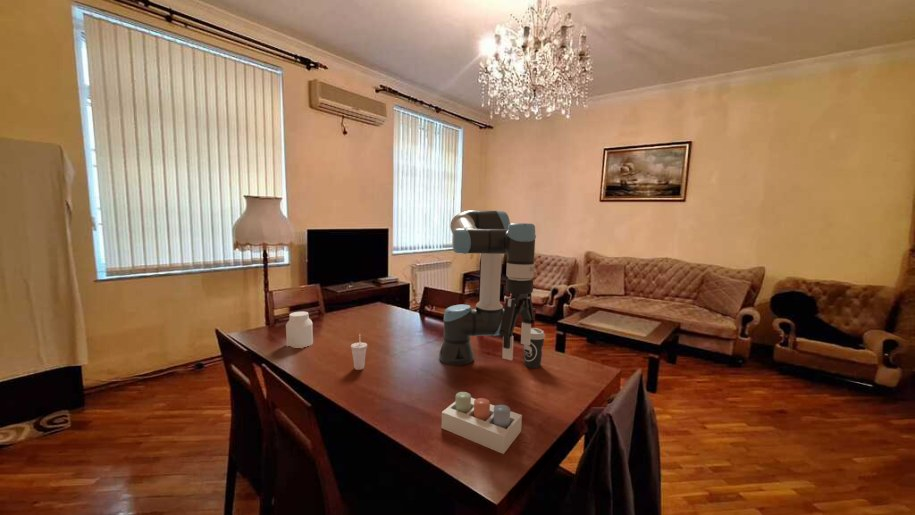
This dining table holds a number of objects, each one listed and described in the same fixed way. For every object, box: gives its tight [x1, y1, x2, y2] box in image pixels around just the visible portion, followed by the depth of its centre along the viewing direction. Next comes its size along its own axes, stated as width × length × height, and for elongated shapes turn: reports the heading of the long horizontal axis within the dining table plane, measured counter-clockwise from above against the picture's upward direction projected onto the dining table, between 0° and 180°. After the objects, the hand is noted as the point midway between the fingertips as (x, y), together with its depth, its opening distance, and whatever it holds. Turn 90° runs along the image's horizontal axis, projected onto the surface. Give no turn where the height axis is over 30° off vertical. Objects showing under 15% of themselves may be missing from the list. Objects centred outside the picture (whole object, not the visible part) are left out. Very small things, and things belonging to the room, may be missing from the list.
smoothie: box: [350, 333, 368, 371], centre depth 140 cm, size 6×6×14 cm
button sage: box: [455, 391, 472, 414], centre depth 104 cm, size 5×5×6 cm
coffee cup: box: [523, 327, 546, 369], centre depth 146 cm, size 10×10×15 cm
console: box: [441, 397, 523, 455], centre depth 101 cm, size 20×12×5 cm, turn 57°
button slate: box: [493, 404, 511, 429], centre depth 98 cm, size 5×5×6 cm
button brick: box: [474, 397, 491, 421], centre depth 101 cm, size 5×5×6 cm
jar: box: [285, 311, 314, 349], centre depth 165 cm, size 12×10×15 cm
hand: (516, 351), depth 100 cm, fingers open, 13 cm apart
